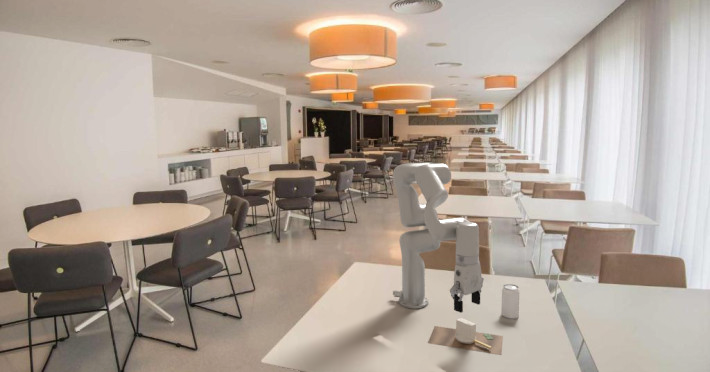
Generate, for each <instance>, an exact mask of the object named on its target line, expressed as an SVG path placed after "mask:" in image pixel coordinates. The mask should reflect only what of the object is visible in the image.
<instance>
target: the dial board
mask: <svg viewBox="0 0 710 372" xmlns="http://www.w3.org/2000/svg"><path fill="white" fill-rule="evenodd" d="M455 334H456V328H451V327H444V326H439V325H434V326H433V329H432V331H431V334H430V337H429V338H428V341H427V344H431V345H438V346H445V347H449V348H456V349H463V350H469V351H475V352H480V353H481V352H482V353H487V354H493V355H499V356H502V352H503V341H504V335H498V334H493V333H491V334H490V333H485V332H478V331H476V340H478V341H480V342H482V343H484V344H487V345H489V346H491V347H492V349H488V348H486V347H484V346H482V345H480V344H477V343H475V342H474V343H471V344H465V343H461V342H459V341H457V340H456V338H455Z"/></svg>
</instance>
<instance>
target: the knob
mask: <svg viewBox="0 0 710 372" xmlns="http://www.w3.org/2000/svg"><path fill="white" fill-rule="evenodd" d="M455 321H456V323H455V327H456V328H455V329H456V334H455V338H456V340H457V341H459V342H461V343H465V344H471V343H474V342H475V343H477V344H480V345H482V346H484V347H486V348H488V349H492V347H491V346H489V345H487V344H484V343H482V342H480V341H478V340H476V332H477V331H476V330H477V324H476V323H475V322H473V321H470V320H467V319H465V318H462V317H459V318H457V319H456V320H455Z"/></svg>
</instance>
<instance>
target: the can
mask: <svg viewBox="0 0 710 372" xmlns="http://www.w3.org/2000/svg"><path fill="white" fill-rule="evenodd" d="M502 287H503V288H502V289H501V316H502V317H504V318H506V319H509V320H511V319H512V320H515V319H517V318H518V317H519V316H520V289H519V286H518V285H516V284H511V283H506V284H504V285H503V286H502Z"/></svg>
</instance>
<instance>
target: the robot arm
mask: <svg viewBox="0 0 710 372" xmlns="http://www.w3.org/2000/svg"><path fill="white" fill-rule="evenodd" d="M451 179H452V171H451V169H450V168H449V166H448V165H447V164H446V163H445V164H444V163H442V162H440V163H439V162H412V163H402V164H399V165H397V166H396V167H394V168H393V172H392V182H393V186H394V189H395V191H396V195H397V202H398V207H399V208H398V209H399V216H400V223H401V225H402V226H403V227H404V228H408V229H409V228H418V227H424V228H422V229H415V230H409V231H405V232H403V233H402V234H401V235H400V237H399V246H400V247H399V248H400V252H401V253H400V254H401V285H402V286H401V290H399V291H398V290H392V295H393V296H394V298H398V304H399V305H400V306H401V307H404V308H407V309H416V310H417V309H422V308H425V307H427V306H428V305H429V299H428V298H427V297H426V295H425V294H426V292H425V291H426V289H425V286H426V285H425V283H426V281H425V280H426V279H425V276H426V273H425V272H426V271H425V270H426V269H425V261H424V259H423V258H422V257H421V255H420V254H421V253H427V252H434V251H436V250H438V249H439V248H440V246H441V242H446V241H454V240H455V264H454V266H455V267H454V274H453V285H452V287H451V288H450V289H449V293H450V296H451V297H452V299H453V310H454V311H456V312H458V313H460V314H461V313H463V312H464V310H463V309H464V301H463V298H464V296H468V295H471V303H472V304H476V305H480V304H481V293H482V288H483V282H484V280H485V279H484V277H482V276H483V275H482V268H481V266H482V265H481V262H480V236H479V235H480V228H479V224H477V222H472V221H469V220H468V219H466V218H464V217H453V218H443V219H439V218H438V211H437V210H436V209H437V207H440V206H441V205H442V204H444V203H445V202H446V201H447V199H448V197H449V193H448V190H447V189H446V186H445V185H447V184H449V183H450V182H451ZM411 184H413V185H414V184H417V185H418V188H419V189H420V192H421V193H422V196H423V197H424V199H425V201H426V203H420V202H419V194H418V192H417V190H416V188H414V186H413V185H411Z"/></svg>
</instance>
